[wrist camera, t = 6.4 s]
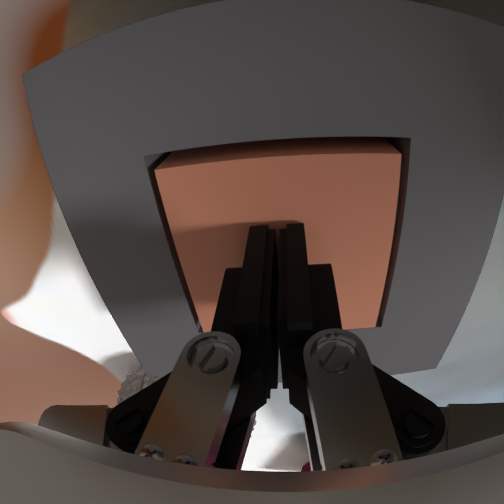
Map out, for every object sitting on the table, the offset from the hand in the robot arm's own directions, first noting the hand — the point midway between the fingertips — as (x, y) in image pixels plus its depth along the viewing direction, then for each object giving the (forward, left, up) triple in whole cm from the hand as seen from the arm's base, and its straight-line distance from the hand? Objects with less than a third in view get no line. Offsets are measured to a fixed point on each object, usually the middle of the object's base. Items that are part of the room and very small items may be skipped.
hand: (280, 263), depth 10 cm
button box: (0, 0, -6) cm, 6 cm away
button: (0, 0, -3) cm, 3 cm away
